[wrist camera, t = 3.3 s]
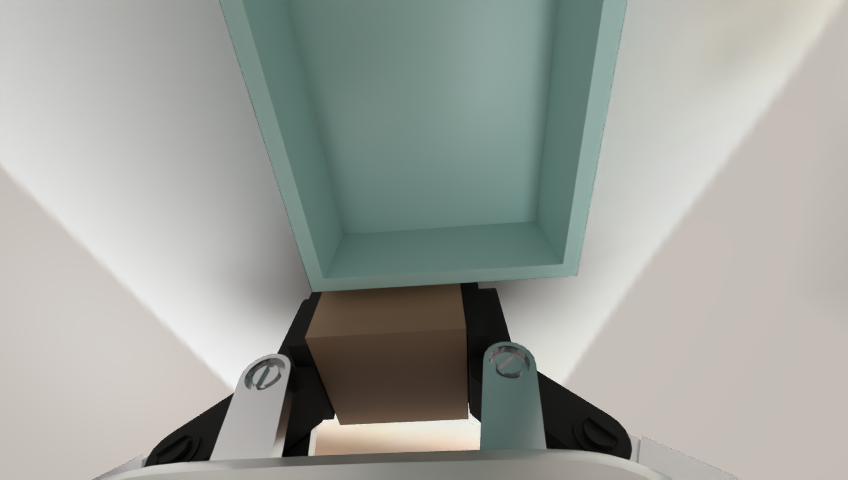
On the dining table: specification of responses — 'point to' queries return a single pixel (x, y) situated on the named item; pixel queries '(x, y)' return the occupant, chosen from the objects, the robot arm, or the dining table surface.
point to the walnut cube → (392, 353)
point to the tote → (431, 132)
